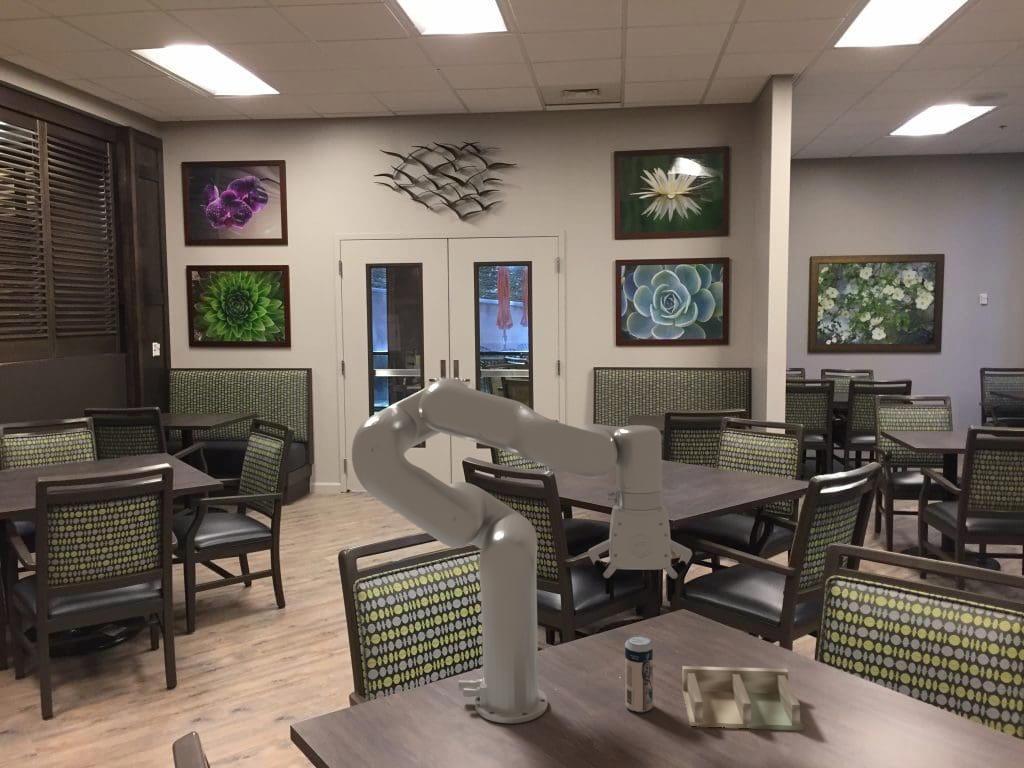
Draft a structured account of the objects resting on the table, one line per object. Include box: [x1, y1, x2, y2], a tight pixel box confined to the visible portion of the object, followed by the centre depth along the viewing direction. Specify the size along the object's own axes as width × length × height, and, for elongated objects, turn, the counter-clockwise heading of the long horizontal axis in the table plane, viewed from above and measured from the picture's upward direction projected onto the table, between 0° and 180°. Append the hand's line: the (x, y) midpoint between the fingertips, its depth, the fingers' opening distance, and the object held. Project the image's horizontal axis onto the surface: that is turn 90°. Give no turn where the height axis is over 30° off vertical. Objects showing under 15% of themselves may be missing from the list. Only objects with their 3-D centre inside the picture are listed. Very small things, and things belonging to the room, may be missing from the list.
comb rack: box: [681, 665, 805, 732], centre depth 137 cm, size 18×12×5 cm, turn 84°
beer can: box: [624, 634, 654, 713], centre depth 138 cm, size 5×5×12 cm
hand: (640, 598), depth 137 cm, fingers open, 9 cm apart
